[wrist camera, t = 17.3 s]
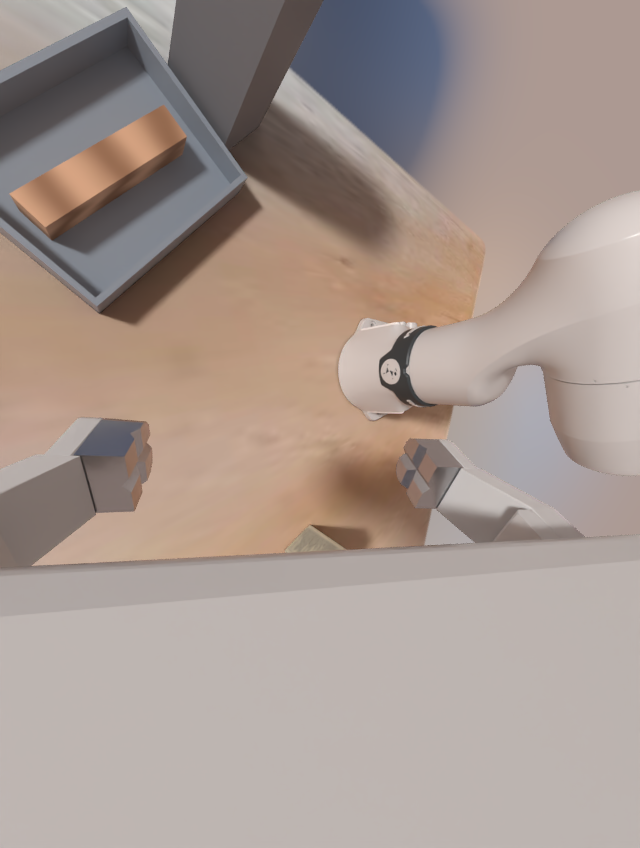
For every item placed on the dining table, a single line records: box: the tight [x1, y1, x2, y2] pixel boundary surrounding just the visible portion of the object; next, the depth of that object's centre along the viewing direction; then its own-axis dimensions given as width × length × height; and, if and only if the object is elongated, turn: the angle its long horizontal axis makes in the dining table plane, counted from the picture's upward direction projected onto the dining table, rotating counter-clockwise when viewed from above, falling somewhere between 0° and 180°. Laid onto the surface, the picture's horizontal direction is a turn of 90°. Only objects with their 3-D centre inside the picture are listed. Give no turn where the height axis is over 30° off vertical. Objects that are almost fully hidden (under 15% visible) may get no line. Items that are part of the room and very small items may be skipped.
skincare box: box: [285, 525, 347, 553], centre depth 46 cm, size 6×4×12 cm
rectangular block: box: [9, 105, 187, 241], centre depth 30 cm, size 18×3×3 cm, turn 136°
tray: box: [0, 7, 247, 314], centre depth 30 cm, size 24×16×4 cm, turn 138°
